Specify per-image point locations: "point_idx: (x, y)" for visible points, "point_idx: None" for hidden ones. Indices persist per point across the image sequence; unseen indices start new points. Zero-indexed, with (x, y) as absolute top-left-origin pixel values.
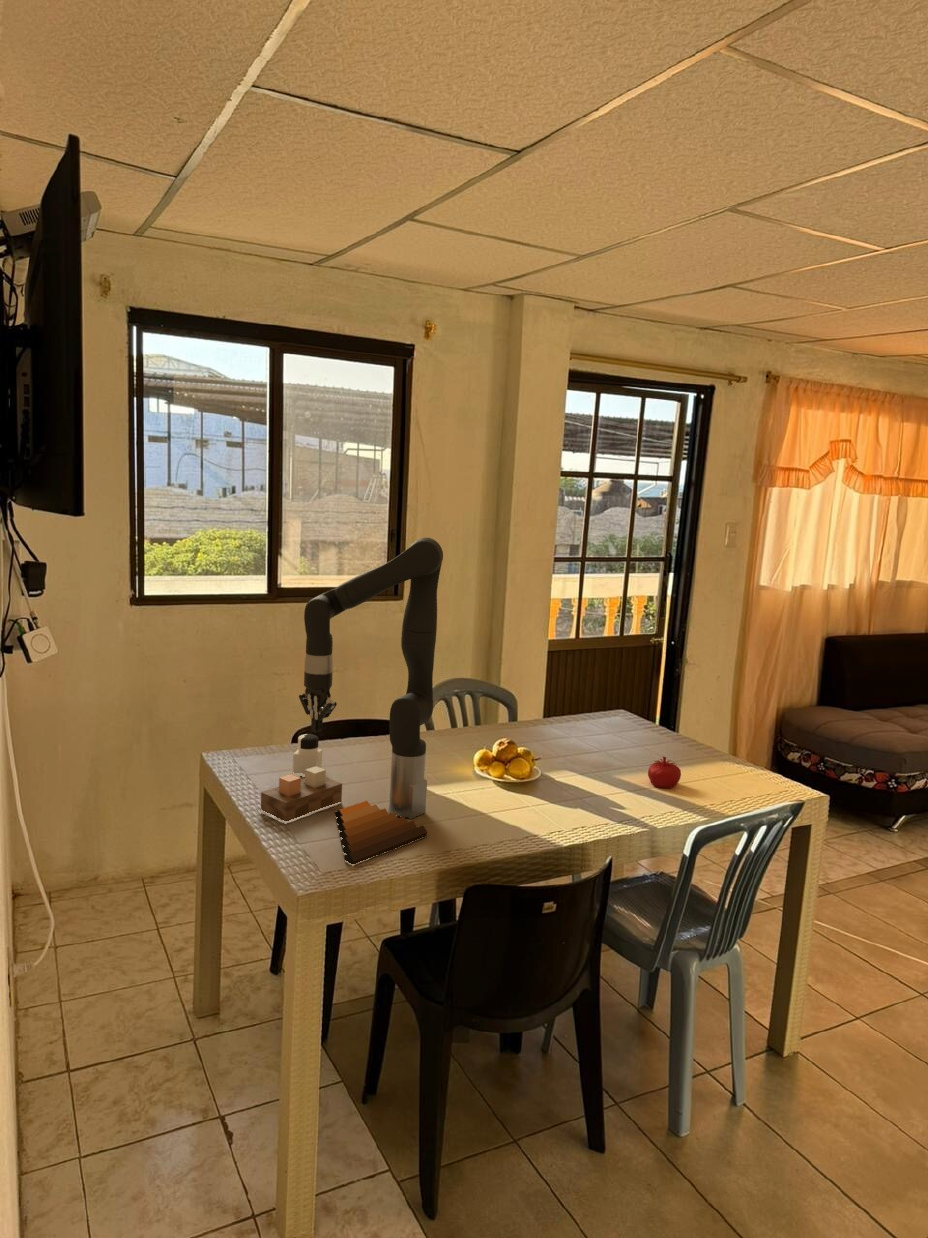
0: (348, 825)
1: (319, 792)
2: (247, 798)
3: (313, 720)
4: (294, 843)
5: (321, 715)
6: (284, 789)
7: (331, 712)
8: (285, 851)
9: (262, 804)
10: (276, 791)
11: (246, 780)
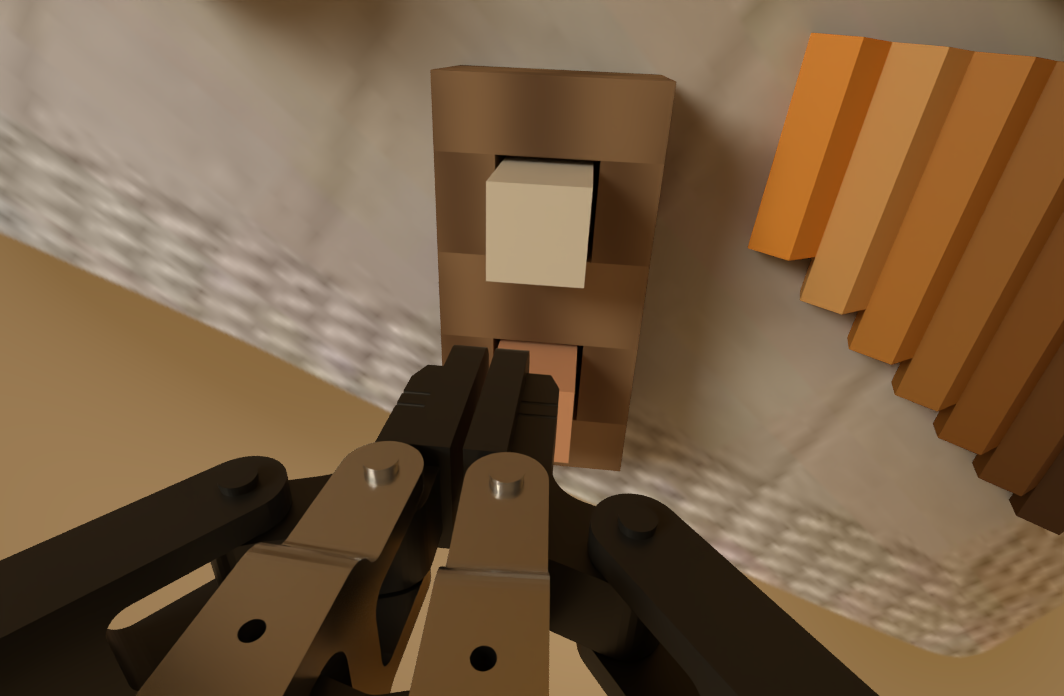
0: (912, 339)
1: (647, 277)
2: (301, 329)
3: (452, 533)
4: (751, 491)
5: (636, 673)
6: None
7: (785, 612)
8: (764, 541)
9: None
10: None
11: (99, 188)
